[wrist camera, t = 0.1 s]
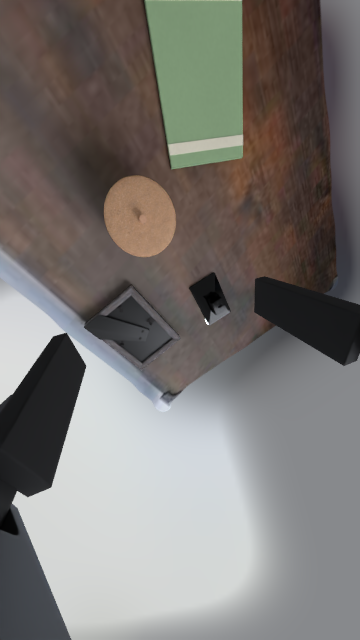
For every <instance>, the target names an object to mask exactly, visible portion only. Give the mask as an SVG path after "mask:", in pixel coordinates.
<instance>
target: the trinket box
mask: <svg viewBox="0 0 360 640" xmlns="http://www.w3.org/2000/svg"><path fill="white" fill-rule="evenodd" d="M104 220H105V224H106V228H107V230H108V232H109V234H110V236H111V237H112V239H113V240H114V242H115V243H116V244H117V245H118V246H119V247H120V248H121V249H123V250H124V251H125V252H127V253H129V254H131V255H134V256H139V257H149V256H153V255H156V254H158V253H160V252H161V251H163V250H164V249H165V248H166V247H167V246H168V245H169V243H170V242H171V240H172V238H173V235H174V232H175V227H176V215H175V210H174V206H173V203H172V201H171V199H170V197H169V195H168V194H167V193H166V191H165V190H164V189H163V188H162V187H161V186H160V185H159V184H158V183H156V182H155V181H154V180H152V179H150V178H147V177H144V176H138V175H133V176H128V177H124V178H122V179H120V180H119V181H117V182H116V183H115V184H114V185H113V186H112V187H111V189H110V190H109V192H108V194H107V196H106V199H105V203H104Z"/></svg>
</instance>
